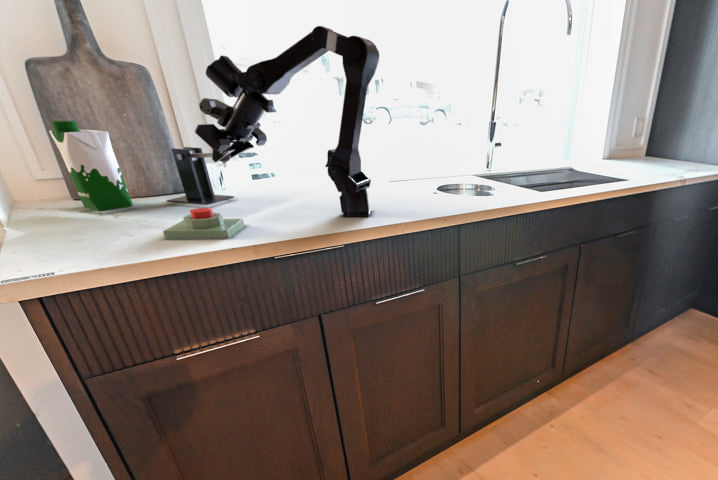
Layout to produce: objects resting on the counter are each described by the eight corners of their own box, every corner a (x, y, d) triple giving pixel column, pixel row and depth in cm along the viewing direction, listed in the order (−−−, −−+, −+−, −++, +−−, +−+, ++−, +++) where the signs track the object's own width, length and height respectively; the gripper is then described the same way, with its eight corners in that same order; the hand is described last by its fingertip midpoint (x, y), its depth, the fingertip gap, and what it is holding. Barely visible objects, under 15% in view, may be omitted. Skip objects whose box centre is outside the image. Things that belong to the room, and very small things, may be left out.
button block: (244, 226, 98) (240, 210, 97) (229, 238, 90) (224, 221, 88) (187, 226, 96) (182, 211, 94) (165, 239, 88) (159, 222, 86)
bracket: (234, 200, 121) (221, 147, 114) (208, 207, 112) (192, 151, 105) (196, 197, 122) (180, 145, 115) (167, 204, 113) (149, 148, 107)
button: (217, 215, 94) (214, 207, 93) (209, 220, 90) (207, 212, 89) (196, 216, 93) (194, 207, 92) (188, 220, 89) (186, 212, 89)
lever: (235, 161, 112) (231, 146, 110) (226, 162, 109) (221, 147, 107) (191, 162, 114) (186, 147, 112) (181, 164, 111) (175, 149, 109)
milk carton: (79, 211, 104) (39, 120, 95) (121, 204, 112) (88, 119, 102) (99, 216, 101) (60, 122, 92) (141, 208, 109) (109, 121, 99)
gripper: (244, 87, 110) (218, 133, 117) (188, 84, 94) (162, 138, 100) (279, 121, 113) (253, 164, 119) (231, 124, 97) (203, 174, 103)
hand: (219, 159), depth 111 cm, fingers closed on lever, 3 cm apart
